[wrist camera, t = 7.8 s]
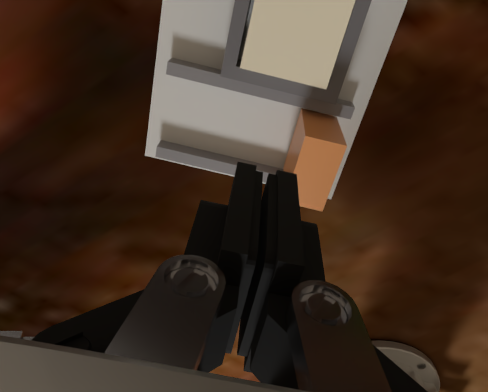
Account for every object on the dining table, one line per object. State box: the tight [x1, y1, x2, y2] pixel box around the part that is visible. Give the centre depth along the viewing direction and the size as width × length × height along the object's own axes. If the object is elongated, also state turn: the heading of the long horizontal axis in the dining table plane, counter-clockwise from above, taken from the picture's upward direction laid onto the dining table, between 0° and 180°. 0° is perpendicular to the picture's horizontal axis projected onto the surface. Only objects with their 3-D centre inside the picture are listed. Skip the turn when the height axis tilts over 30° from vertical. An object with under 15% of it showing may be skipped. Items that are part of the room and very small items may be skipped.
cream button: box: [240, 0, 356, 89], centre depth 23 cm, size 5×5×2 cm
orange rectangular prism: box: [283, 108, 347, 211], centre depth 26 cm, size 2×4×5 cm, turn 168°
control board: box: [145, 0, 407, 199], centre depth 25 cm, size 14×24×4 cm, turn 168°
